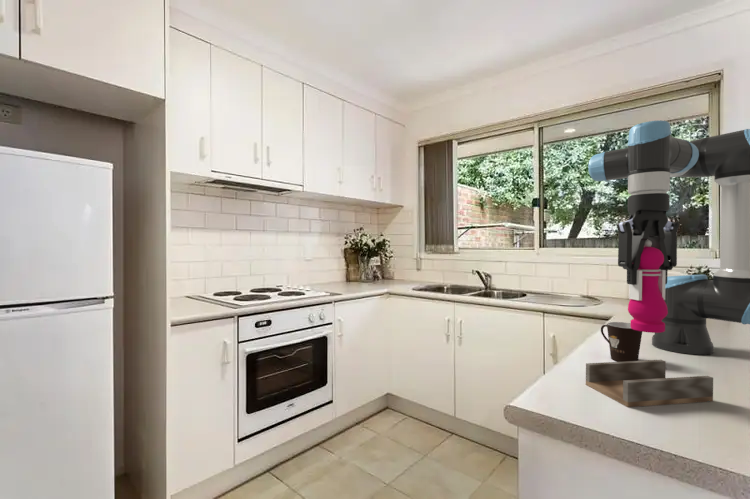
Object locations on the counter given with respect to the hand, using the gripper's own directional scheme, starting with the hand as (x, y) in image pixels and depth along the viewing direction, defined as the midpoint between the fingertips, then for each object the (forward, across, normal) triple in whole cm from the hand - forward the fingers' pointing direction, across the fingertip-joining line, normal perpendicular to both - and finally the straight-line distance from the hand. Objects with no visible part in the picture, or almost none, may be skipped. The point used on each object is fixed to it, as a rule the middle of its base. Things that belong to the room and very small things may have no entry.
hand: (646, 298), depth 84 cm
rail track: (+21, 0, 0) cm, 21 cm away
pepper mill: (+7, 0, 0) cm, 7 cm away
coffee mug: (+21, -14, -23) cm, 34 cm away
